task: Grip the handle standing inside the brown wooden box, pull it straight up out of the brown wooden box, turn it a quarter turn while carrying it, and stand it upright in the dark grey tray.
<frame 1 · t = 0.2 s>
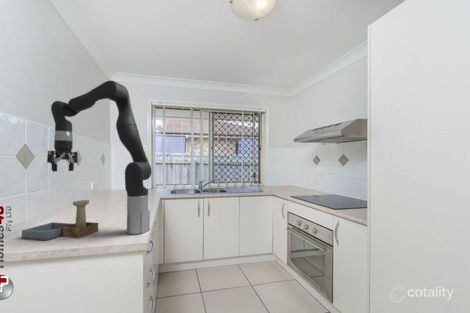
hand: (63, 171, 113), 29 cm above the worktop, tool pointing down, fingers open, 8 cm apart
handle: (80, 234, 100), resting in brown wooden box
tray: (50, 234, 99), on the worktop
brown wooden box: (80, 233, 100), on the worktop
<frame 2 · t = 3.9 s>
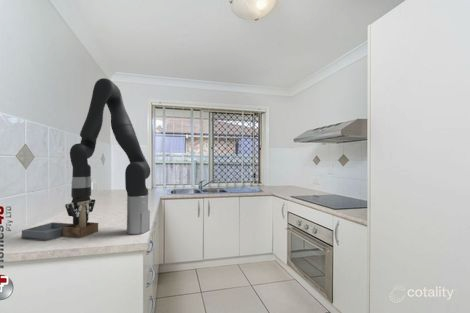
hand: (80, 223, 100), 5 cm above the worktop, tool pointing down, fingers closed on handle, 4 cm apart
handle: (80, 234, 100), resting in brown wooden box, touching gripper
when the fingers open (7 cm above the worktop, at t = 9.0 s): handle drops 1 cm, resting on tray.
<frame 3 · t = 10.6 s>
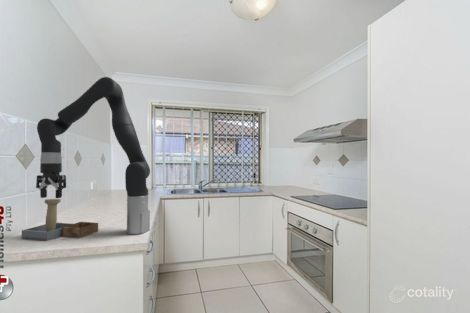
hand: (51, 197, 99), 17 cm above the worktop, tool pointing down, fingers open, 8 cm apart
handle: (50, 233, 99), point 1 cm above the worktop, touching tray
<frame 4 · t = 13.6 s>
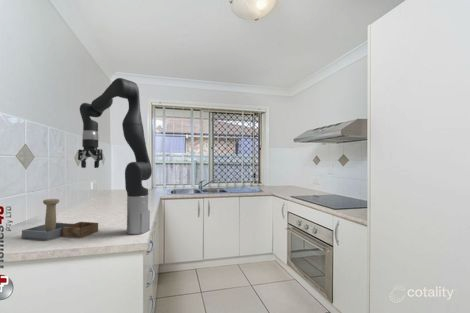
hand: (90, 167, 122), 30 cm above the worktop, tool pointing down, fingers open, 8 cm apart
nothing on the worktop moved.
at the end: handle inside the target area on the tray (0.1 cm from its centre), point 0.6 cm above the tray's base; handle tilted 1°; the gripper is holding nothing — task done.
